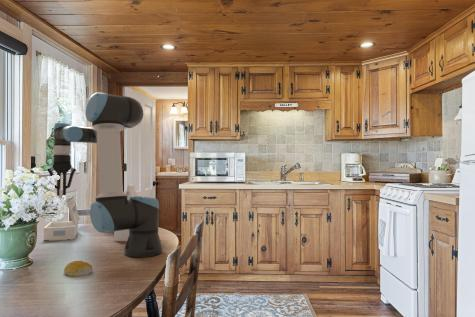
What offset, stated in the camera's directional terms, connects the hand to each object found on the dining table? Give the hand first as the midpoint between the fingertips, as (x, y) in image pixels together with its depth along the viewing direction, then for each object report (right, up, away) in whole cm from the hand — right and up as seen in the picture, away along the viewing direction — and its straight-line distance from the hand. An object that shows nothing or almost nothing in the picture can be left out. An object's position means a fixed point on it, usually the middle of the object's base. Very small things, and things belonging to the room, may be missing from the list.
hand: (61, 202), depth 176 cm
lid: (+4, -4, +2) cm, 6 cm away
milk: (+34, -18, -2) cm, 39 cm away
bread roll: (+33, -17, -56) cm, 67 cm away
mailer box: (0, -17, 0) cm, 17 cm away
